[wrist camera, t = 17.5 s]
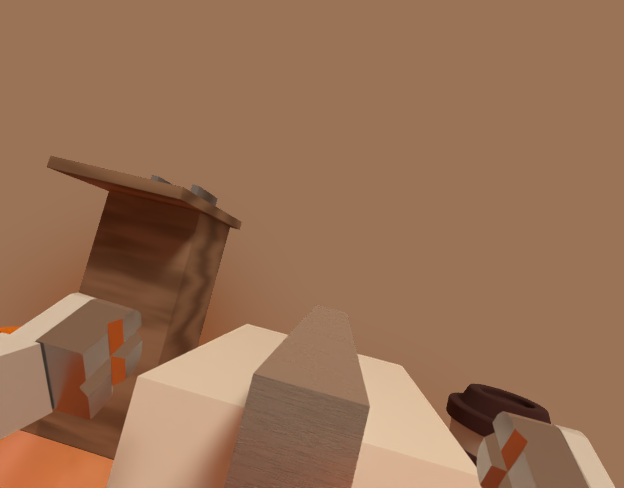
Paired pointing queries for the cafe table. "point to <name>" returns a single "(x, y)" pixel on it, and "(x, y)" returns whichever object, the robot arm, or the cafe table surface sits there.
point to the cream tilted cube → (229, 409)
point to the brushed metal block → (304, 410)
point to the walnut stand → (144, 282)
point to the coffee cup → (485, 414)
